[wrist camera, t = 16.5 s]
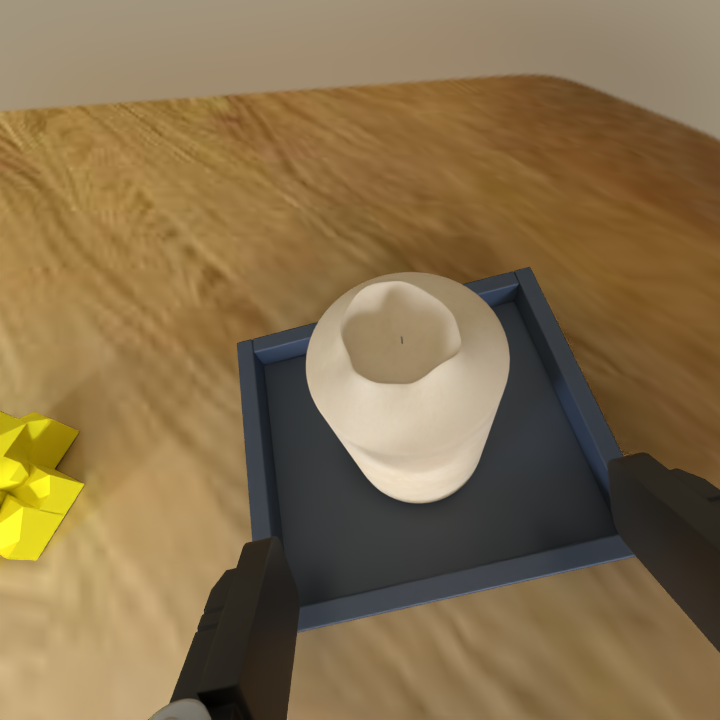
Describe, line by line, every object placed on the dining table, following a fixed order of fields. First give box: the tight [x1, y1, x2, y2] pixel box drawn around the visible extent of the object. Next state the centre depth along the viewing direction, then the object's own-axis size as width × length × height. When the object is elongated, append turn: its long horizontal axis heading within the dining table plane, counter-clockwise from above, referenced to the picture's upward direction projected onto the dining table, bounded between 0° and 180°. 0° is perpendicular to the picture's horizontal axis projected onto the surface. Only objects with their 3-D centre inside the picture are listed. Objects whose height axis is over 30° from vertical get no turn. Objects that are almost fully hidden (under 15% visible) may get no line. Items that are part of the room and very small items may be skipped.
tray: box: [237, 267, 635, 632], centre depth 19 cm, size 15×13×2 cm
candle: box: [306, 272, 510, 504], centre depth 15 cm, size 6×6×10 cm
